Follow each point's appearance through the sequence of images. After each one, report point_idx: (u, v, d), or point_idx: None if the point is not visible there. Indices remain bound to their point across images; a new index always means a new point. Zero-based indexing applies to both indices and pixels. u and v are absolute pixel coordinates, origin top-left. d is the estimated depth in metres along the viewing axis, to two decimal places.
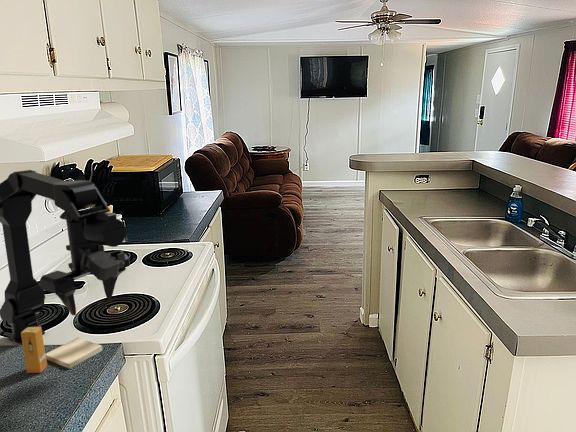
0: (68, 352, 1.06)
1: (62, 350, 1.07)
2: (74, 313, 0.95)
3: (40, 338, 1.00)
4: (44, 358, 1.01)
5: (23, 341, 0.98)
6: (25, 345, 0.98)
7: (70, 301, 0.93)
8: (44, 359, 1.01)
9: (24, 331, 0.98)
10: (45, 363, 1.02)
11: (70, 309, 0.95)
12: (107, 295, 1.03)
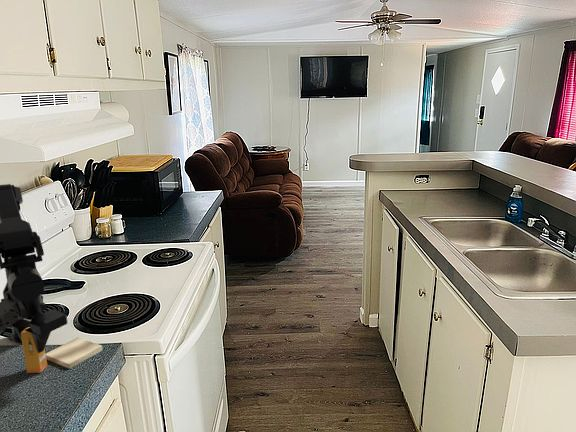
0: (68, 352, 1.06)
1: (62, 350, 1.07)
2: None
3: None
4: (44, 358, 1.01)
5: (23, 341, 0.98)
6: (25, 345, 0.98)
7: (17, 333, 1.00)
8: (44, 359, 1.01)
9: (24, 331, 0.98)
10: (45, 363, 1.02)
11: None
12: None
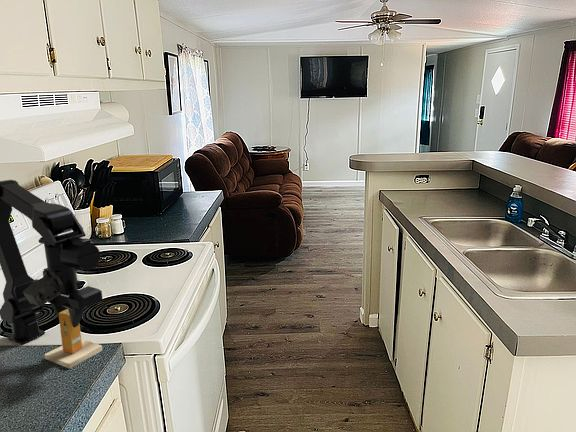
0: (68, 352, 1.06)
1: (62, 350, 1.07)
2: None
3: None
4: (79, 340, 1.06)
5: (60, 321, 1.04)
6: (61, 325, 1.04)
7: (54, 309, 1.05)
8: (78, 341, 1.06)
9: (61, 312, 1.04)
10: (79, 345, 1.07)
11: None
12: None
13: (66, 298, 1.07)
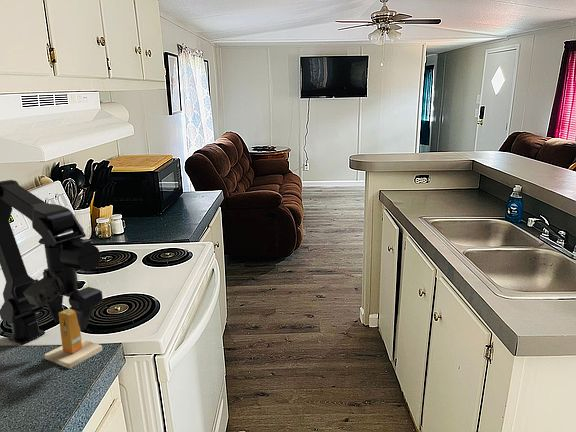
0: (68, 352, 1.06)
1: (62, 350, 1.07)
2: None
3: (75, 321, 1.05)
4: (78, 340, 1.06)
5: (60, 321, 1.04)
6: (61, 325, 1.04)
7: (48, 307, 1.06)
8: (78, 341, 1.06)
9: (61, 312, 1.04)
10: (79, 345, 1.07)
11: None
12: None
13: (60, 297, 1.08)
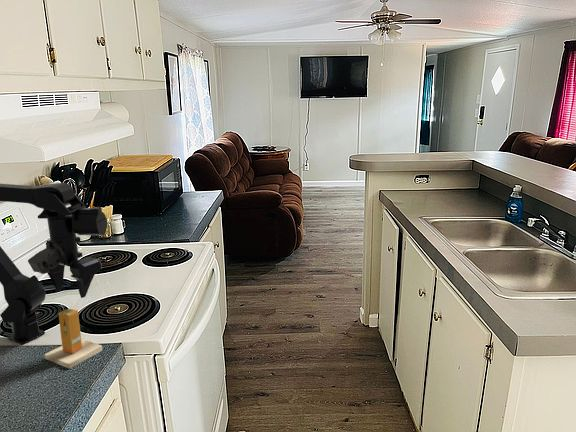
0: (68, 352, 1.06)
1: (62, 350, 1.07)
2: (56, 289, 1.14)
3: (75, 321, 1.05)
4: (78, 340, 1.06)
5: (60, 321, 1.04)
6: (61, 325, 1.04)
7: (50, 277, 1.13)
8: (78, 341, 1.06)
9: (61, 312, 1.04)
10: (79, 345, 1.07)
11: None
12: None
13: (61, 268, 1.15)
